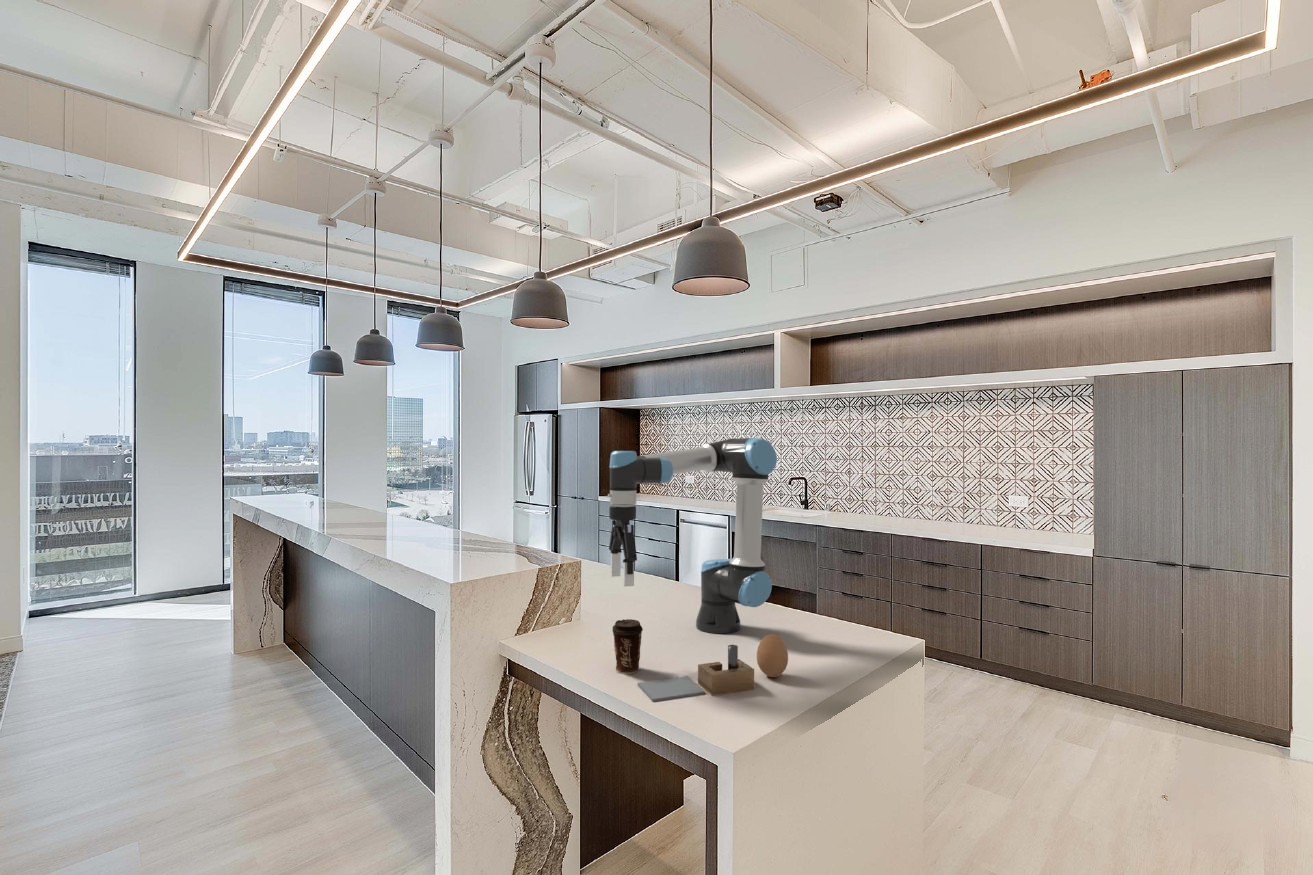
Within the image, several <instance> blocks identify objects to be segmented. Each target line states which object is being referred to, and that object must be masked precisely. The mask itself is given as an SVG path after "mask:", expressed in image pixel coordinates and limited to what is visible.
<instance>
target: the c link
mask: <svg viewBox="0 0 1313 875" xmlns="http://www.w3.org/2000/svg"><path fill="white" fill-rule="evenodd" d="M697 685H698V686H700V687H701V688H702V689H703V690H704V691H705V692H707V693H708V694H709V695H710V696H719V695H724V694H731V693H736V692H742V691H743V692H745V691H751V690H755V669H754V668H753V667H752V666H750V665H748V663H746V662H745V661H743V660H742V659H739V658H738V668H736V669H729V670H728V669H723V663H721V662H720V661H714V662H708V663H707V662H706V663H700V664H697Z"/></svg>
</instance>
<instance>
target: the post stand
mask: <svg viewBox="0 0 1313 875" xmlns="http://www.w3.org/2000/svg"><path fill="white" fill-rule="evenodd" d="M738 650H739V646H738V645H736V644H729V645H727V670H729V669H736V668H738V659H739V652H738Z"/></svg>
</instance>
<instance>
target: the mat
mask: <svg viewBox="0 0 1313 875" xmlns="http://www.w3.org/2000/svg"><path fill="white" fill-rule="evenodd" d="M637 686H638V687H639V688H640V690H641V691H642V692H643V693H644V694H645V695H646V696H647V697H648V698H649V700H651V702H659V701H666V700H672V699H679V698H687V697H693V696H694V697H695V696H699V695H705V694H706V690H705V689H703V688H702V687H701V686H700V685H699V684H698V683H696V682H695V681H694V680H693V679H691V677H689V676H688V675H685V676H679V677H671V678H663V679H656V680H650V681H642V682H637Z"/></svg>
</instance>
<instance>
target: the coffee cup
mask: <svg viewBox="0 0 1313 875" xmlns="http://www.w3.org/2000/svg"><path fill="white" fill-rule="evenodd" d="M643 631H644V630H643V627H642V625H641V623H640V621H639V620H637V619H631V618H630V619H629V618H628V619H619V620H616V621H615V623H614V624H613V625H612V633H613V639H614V641H613V643H614V644H613V646H614V653H615V654H614V655H615V660H616V665H615V671H616V673H619V674H622V675H623V674H624V675H631V674H636V673H637V672H638V671H639V669H640V659H641V645H642V635H643V634H642V632H643Z"/></svg>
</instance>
